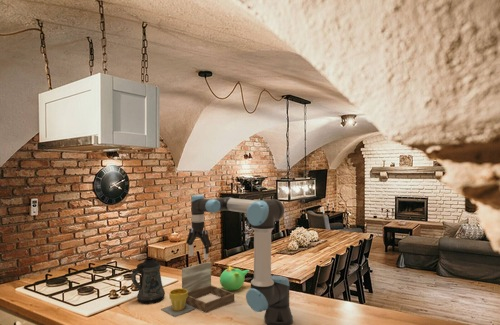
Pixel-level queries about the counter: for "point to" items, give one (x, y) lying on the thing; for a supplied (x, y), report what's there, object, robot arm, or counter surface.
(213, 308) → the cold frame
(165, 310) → the slate pad
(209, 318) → the counter surface
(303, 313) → the counter surface
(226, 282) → the toy bird
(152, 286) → the beer stein
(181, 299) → the plant pot
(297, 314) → the counter surface
